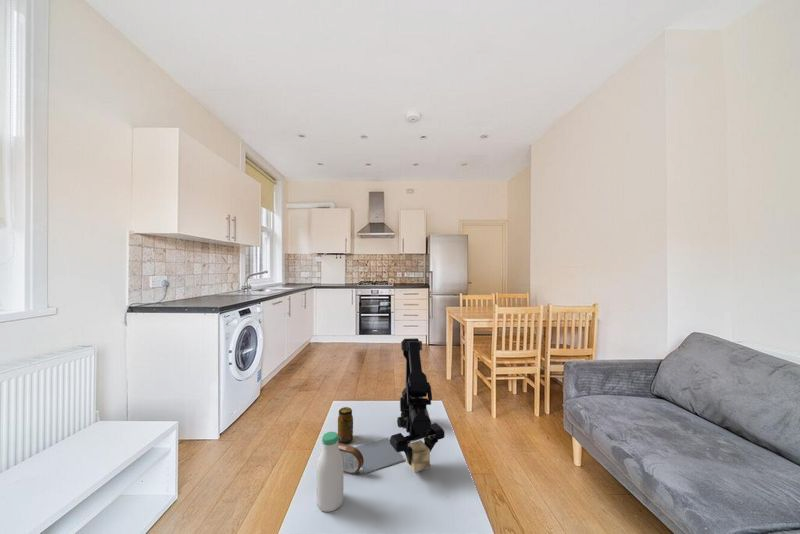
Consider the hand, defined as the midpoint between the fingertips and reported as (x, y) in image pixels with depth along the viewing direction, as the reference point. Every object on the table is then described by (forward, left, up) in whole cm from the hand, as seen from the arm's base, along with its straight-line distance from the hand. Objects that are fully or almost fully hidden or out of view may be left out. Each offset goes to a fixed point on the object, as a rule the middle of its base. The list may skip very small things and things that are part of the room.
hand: (417, 461), depth 102 cm
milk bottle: (+30, 0, -4) cm, 30 cm away
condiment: (+17, -28, -4) cm, 33 cm away
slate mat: (+9, -14, -3) cm, 17 cm away
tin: (+23, -12, -4) cm, 26 cm away
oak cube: (0, 0, -1) cm, 1 cm away
